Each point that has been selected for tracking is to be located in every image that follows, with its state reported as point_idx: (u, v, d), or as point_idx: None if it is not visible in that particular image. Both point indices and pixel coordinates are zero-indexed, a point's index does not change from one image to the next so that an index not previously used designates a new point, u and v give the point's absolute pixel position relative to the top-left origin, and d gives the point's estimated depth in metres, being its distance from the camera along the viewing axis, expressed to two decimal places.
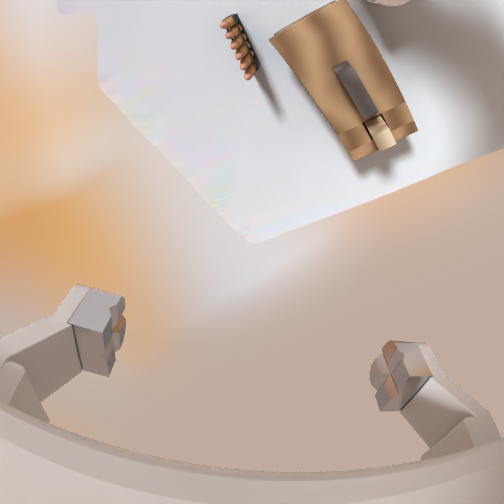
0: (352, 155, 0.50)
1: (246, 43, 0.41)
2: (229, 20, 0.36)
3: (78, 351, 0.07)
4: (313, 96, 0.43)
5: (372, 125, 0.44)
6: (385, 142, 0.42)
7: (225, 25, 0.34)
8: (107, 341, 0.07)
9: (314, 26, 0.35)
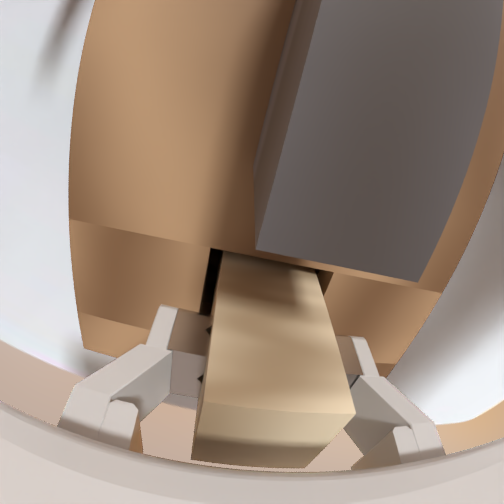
0: (87, 330, 0.11)
1: None
2: None
3: (171, 375, 0.07)
4: None
5: (256, 304, 0.08)
6: (258, 449, 0.06)
7: None
8: None
9: None
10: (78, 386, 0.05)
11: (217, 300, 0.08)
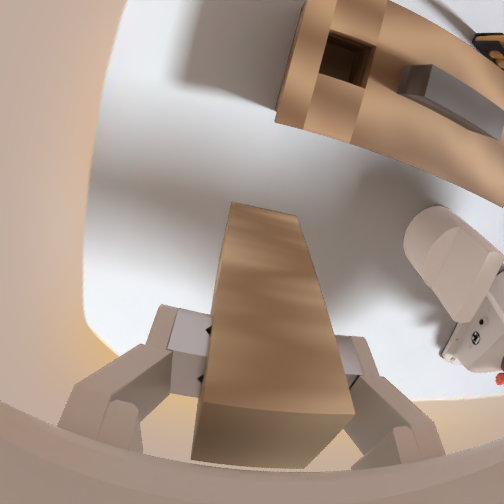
0: None
1: None
2: None
3: (171, 375, 0.07)
4: (464, 44, 0.17)
5: (256, 304, 0.08)
6: (258, 450, 0.06)
7: None
8: None
9: None
10: (77, 386, 0.05)
11: (217, 301, 0.08)
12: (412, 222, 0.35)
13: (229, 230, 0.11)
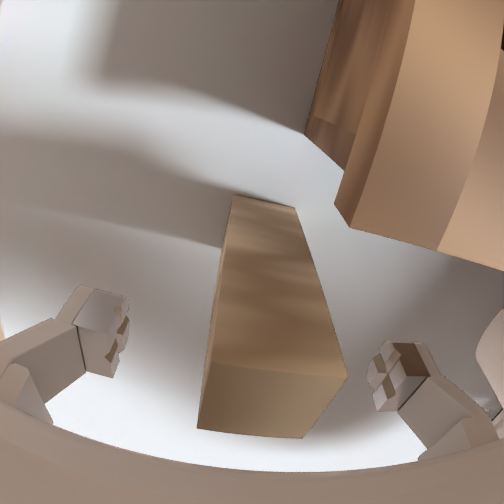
0: None
1: None
2: None
3: (82, 352, 0.07)
4: None
5: (257, 282, 0.09)
6: (259, 415, 0.07)
7: None
8: (111, 342, 0.07)
9: None
10: None
11: (222, 278, 0.09)
12: (497, 318, 0.19)
13: (232, 219, 0.12)
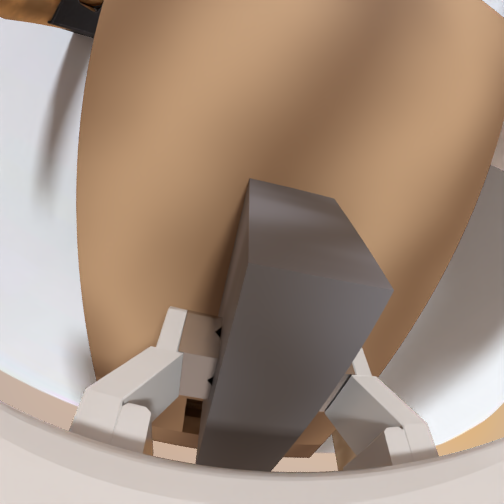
0: None
1: None
2: None
3: (181, 377, 0.07)
4: (82, 228, 0.09)
5: (338, 435, 0.20)
6: None
7: None
8: None
9: None
10: (89, 389, 0.05)
11: (333, 442, 0.20)
12: None
13: None
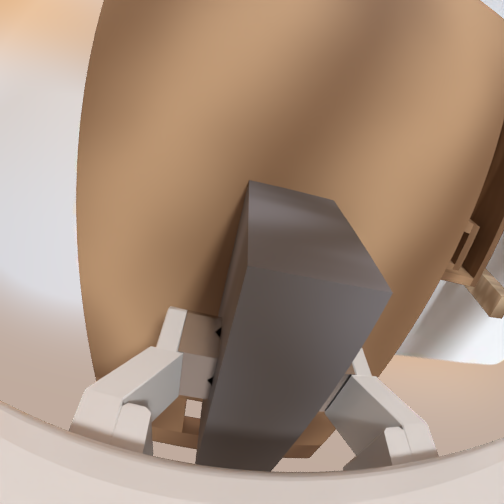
0: None
1: None
2: None
3: (181, 377, 0.07)
4: (82, 230, 0.09)
5: (481, 295, 0.31)
6: (503, 308, 0.28)
7: None
8: None
9: None
10: (88, 389, 0.05)
11: (478, 302, 0.31)
12: None
13: None
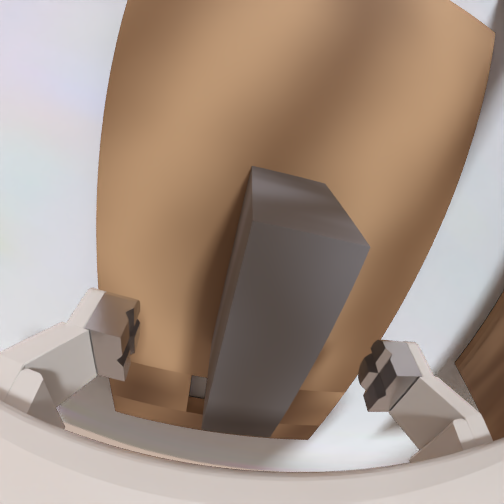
0: (118, 403, 0.16)
1: None
2: None
3: (94, 356, 0.07)
4: (101, 211, 0.11)
5: None
6: None
7: None
8: (124, 346, 0.07)
9: None
10: None
11: None
12: None
13: None
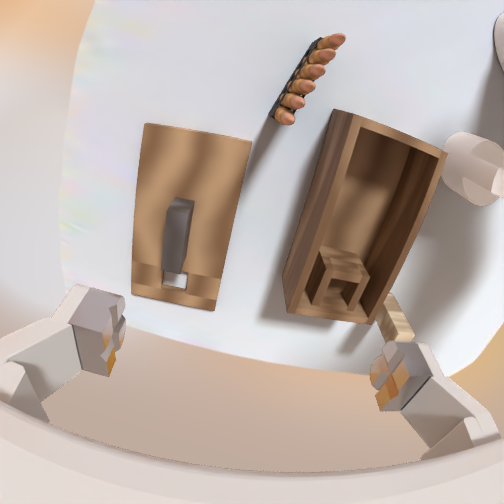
0: (133, 287, 0.45)
1: None
2: None
3: (78, 351, 0.07)
4: (136, 209, 0.39)
5: (385, 329, 0.41)
6: None
7: (344, 40, 0.21)
8: (107, 341, 0.07)
9: (196, 145, 0.35)
10: None
11: (382, 334, 0.42)
12: (448, 186, 0.38)
13: None
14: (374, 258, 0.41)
